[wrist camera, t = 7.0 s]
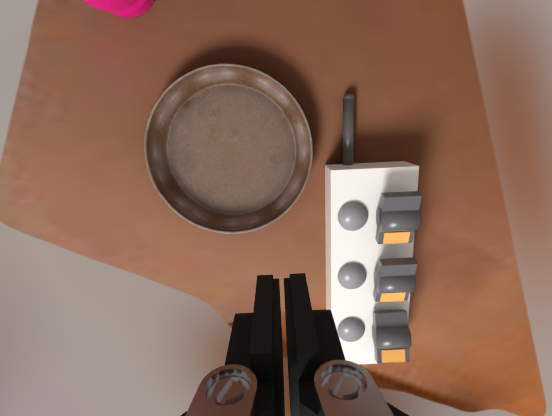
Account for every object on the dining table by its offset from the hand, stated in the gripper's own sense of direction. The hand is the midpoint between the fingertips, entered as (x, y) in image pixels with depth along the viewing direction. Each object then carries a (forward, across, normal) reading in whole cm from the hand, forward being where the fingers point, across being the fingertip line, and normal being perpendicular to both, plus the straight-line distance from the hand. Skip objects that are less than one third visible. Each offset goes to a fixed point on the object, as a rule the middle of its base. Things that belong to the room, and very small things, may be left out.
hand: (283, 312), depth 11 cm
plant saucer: (+28, +5, -3) cm, 28 cm away
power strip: (+27, -10, +7) cm, 30 cm away
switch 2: (+23, -12, +18) cm, 32 cm away
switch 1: (+23, -12, +4) cm, 26 cm away
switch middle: (+23, -12, +11) cm, 28 cm away
